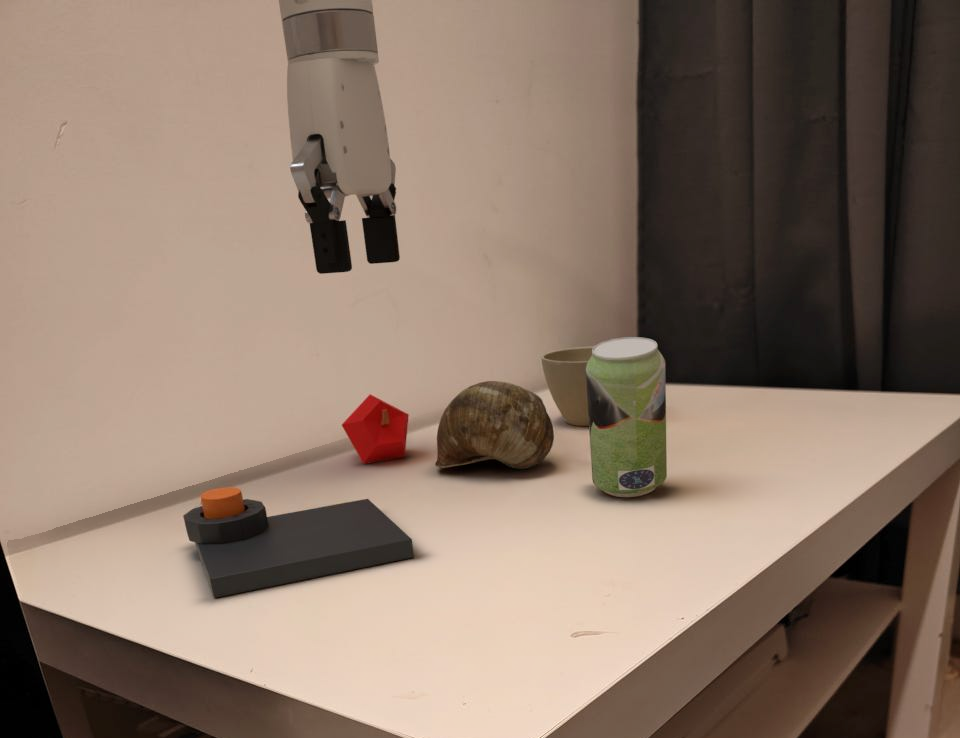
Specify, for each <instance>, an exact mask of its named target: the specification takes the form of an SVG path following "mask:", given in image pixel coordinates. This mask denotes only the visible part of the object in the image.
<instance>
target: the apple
mask: <svg viewBox="0 0 960 738" xmlns="http://www.w3.org/2000/svg"><path fill="white" fill-rule="evenodd" d="M409 416H410V414H409V413H407V412H406V411H403V410H401V409H400V408H398V407H396V406H394V405H392V404H389V403H388V402H386V401H384V400H382V399H381V398H378V397H376V396H375V395H372V394H371V393H370V394H368V395H367V397H366V398H365V399H364V400H363V401H362V402H361V403H360V404H359V405H358V407H357V408H356V409H354V410H353V412H351V414H350V415H349V416H348V418H346V419H345V420H344V421H343V422H342V424H341V427H342V429H343V430H344V432H345V434H346V435H347V437H348V439H349V441H350V443H351V444H352V446H353V448H354V450H355V451H356V454H357V455H358V457H359V459H360V460H361V462H362V464H363V465H366V464H371V463H378V462H384V461H389V460H395V459H400V458H405V457H406V448H407V435H408V425H409Z"/></svg>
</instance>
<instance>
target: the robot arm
mask: <svg viewBox="0 0 960 738" xmlns="http://www.w3.org/2000/svg"><path fill="white" fill-rule="evenodd" d="M278 5H279V12H280V13H279V14H280V18H281V19H280V20H281V24H282V32H283V37H284V39H283V40H284V46H285V52H286V58H287V59H286V60H287V68H286V75H287V76H286V100H287V116H288V128H289V137H290V138H289V139H290V148H291V157H292V162H290V166H289V168H290V173H291V176H292V179H293V181H294V184H295V186H296V189H297V191H298V192H297V193H298V194H297V197H298V200H299V202H300V203H301V205H302V207H303V208H304V218H305V221H306V222H307V223H308V224H309V229H310V234H311V235H310V236H311V242H312V249H313V256H314V263H315V268H316V272H317V273H318V274H320V275H322V274H325V275H326V274H336V273H337V274H339V273H347V272H351V271H352V269H353V264H352V256H351V249H350V242H349V233H348V225H347V220H346V219H343V220H341V216H342V212H343V208H344V203H345V198H346V197H348V196H352V195H353V196H354V195H355V196H356V198H357V199H358V202H359V204H360V206H361V208H362V210H363V212H364V214H365V216H366V217H362V218H361V223H362V231H363V239H364V246H365V252H366V253H365V254H366V261H367V263H368V264H370V265H372V264H373V265H375V264H386V263H388V264H389V263H397V262H399V260H400V258H401V256H400V246H399V238H398V229H397V223H396V222H397V220H396V214H397V204H396V202H395V198H396V194H397V188H396V186H395V185H396V174H397V173H396V172H397V171H396V169H397V168H396V164H395V162H394V161H393V160H392V159H391V153H390V145H389V138H388V131H387V124H386V118H385V112H384V106H383V101H382V96H381V95H382V94H381V90H380V85H379V80H378V76H377V72H376V67H375V65H377V64H379V62H380V60H379V50H378V41H377V34H376V33H377V32H376V25H375V24H376V23H375V15H374V7H373V0H278ZM329 199H330V200H329Z"/></svg>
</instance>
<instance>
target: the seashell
mask: <svg viewBox="0 0 960 738" xmlns="http://www.w3.org/2000/svg"><path fill="white" fill-rule="evenodd" d="M437 427H438V428H437V434H436V448H437V449H436V450H437V454H436V455H437V457H436V461H435V463H434V466H435V467H436V468H440V469H441V468H442V469H443V468H451V467H459V466H463V465H470V464H473V463H477V462H482V461H488V460H496V461H499V462H501V463H502V464H503V465H505V466H507V467H509V468H514V469H518V470H523V469H531V468H532V467H535V466H537V465H538V464H541V462H543V461H544V460H545V459H546V457H547V456H548V455H549V453H550V452H551V450H552V447H553V445H554V439H555V433H554V426H553V422H552V419H551V417H550V415H549V414H548V412H547V408H546V405H545V404H544V400H543V399H542V398H541V396H539V395H538V394H536V393H534V392H533V391H530V390H529V389H526V388H524V387H522V386H519V385H516V384H514V383H510V382H506V381H499V380H487V381H482V382H477V383H476V384H472V385H470V386H468V387H467V388H464V389H463V390H461V391H460V392H459V393H458V394H457V395H456V396H455V397H454V398H453V399H452V400H451V401H450V402H449V403H448V405H447V406H446V408H444V411H443V413H442V414H441V417H440V419H439V423H438V426H437Z"/></svg>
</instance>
